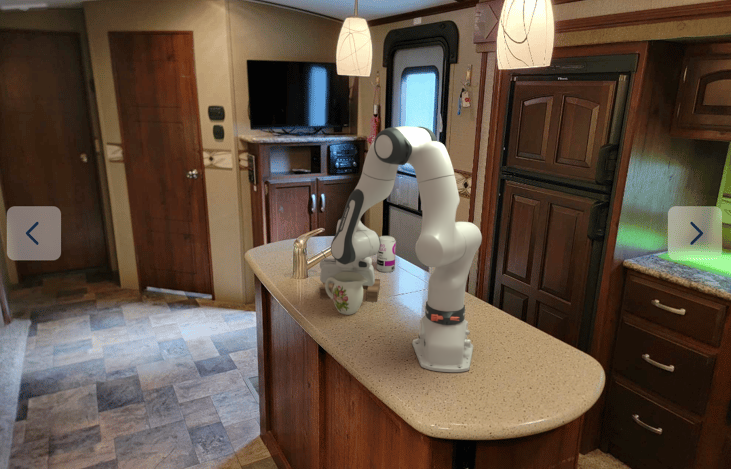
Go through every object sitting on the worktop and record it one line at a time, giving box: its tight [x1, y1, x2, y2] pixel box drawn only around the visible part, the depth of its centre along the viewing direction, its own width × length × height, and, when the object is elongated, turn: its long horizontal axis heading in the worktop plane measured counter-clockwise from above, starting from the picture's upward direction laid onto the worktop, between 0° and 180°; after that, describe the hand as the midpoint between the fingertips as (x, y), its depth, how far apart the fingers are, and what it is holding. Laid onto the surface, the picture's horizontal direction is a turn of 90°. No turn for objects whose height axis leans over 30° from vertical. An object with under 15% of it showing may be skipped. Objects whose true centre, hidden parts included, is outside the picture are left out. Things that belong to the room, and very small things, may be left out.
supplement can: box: [376, 235, 397, 273], centre depth 218 cm, size 8×8×15 cm
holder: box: [319, 278, 381, 303], centre depth 191 cm, size 14×22×4 cm, turn 84°
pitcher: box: [325, 272, 368, 316], centre depth 174 cm, size 11×18×14 cm, turn 57°
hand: (347, 294), depth 181 cm, fingers closed
